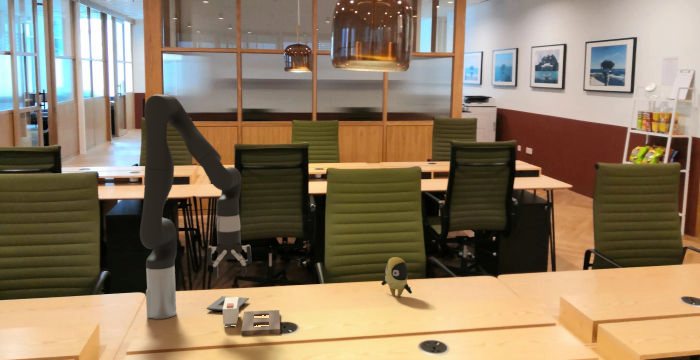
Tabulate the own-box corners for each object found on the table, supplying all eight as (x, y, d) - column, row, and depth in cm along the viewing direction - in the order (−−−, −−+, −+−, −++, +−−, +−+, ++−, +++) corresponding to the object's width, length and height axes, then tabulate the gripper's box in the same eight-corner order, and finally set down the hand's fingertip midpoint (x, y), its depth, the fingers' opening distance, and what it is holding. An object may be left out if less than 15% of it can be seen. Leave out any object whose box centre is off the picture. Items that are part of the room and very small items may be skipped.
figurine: (403, 303, 218) (404, 263, 216) (373, 293, 230) (373, 255, 228) (419, 298, 224) (419, 259, 222) (388, 289, 235) (389, 251, 234)
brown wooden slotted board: (241, 335, 188) (241, 330, 188) (244, 315, 206) (244, 311, 206) (280, 333, 190) (280, 328, 190) (279, 314, 207) (279, 310, 207)
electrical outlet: (235, 315, 208) (235, 308, 207) (206, 313, 210) (206, 307, 209) (249, 303, 220) (248, 297, 220) (222, 301, 222) (221, 295, 222)
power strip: (223, 328, 194) (222, 307, 193) (225, 315, 206) (225, 296, 205) (237, 327, 195) (236, 306, 194) (238, 315, 207) (238, 295, 206)
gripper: (205, 231, 192) (206, 280, 194) (250, 230, 194) (251, 279, 196) (207, 227, 200) (209, 274, 201) (251, 225, 201) (252, 272, 203)
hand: (230, 276), depth 199 cm, fingers open, 8 cm apart
